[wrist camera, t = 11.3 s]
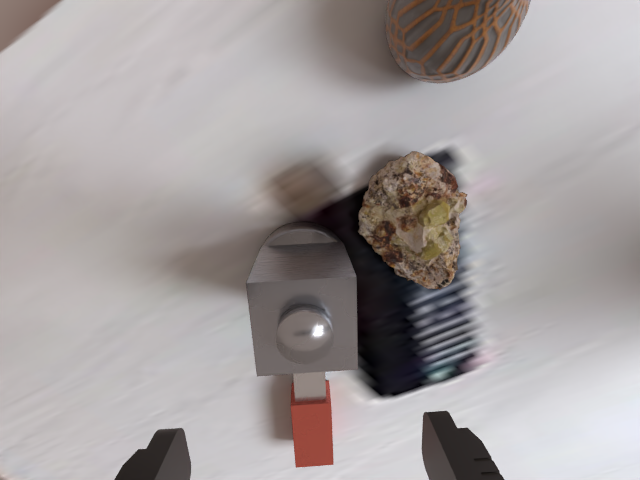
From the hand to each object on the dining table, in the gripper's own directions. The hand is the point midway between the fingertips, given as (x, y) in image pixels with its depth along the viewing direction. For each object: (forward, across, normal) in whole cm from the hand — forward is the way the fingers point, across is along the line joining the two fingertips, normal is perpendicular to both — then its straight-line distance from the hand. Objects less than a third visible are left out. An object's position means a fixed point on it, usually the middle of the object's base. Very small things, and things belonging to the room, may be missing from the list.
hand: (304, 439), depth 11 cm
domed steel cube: (+12, 0, 0) cm, 12 cm away
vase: (+15, -9, -16) cm, 24 cm away
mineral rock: (+16, -8, -3) cm, 18 cm away
